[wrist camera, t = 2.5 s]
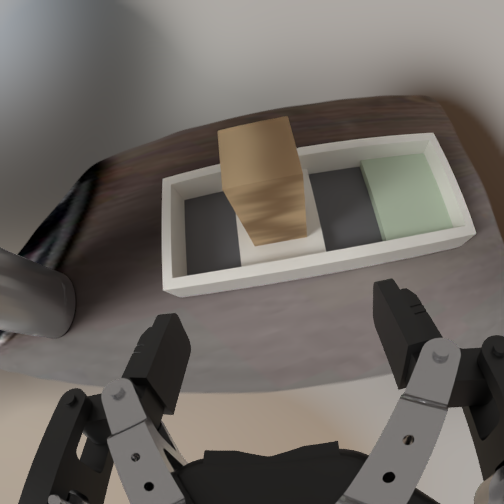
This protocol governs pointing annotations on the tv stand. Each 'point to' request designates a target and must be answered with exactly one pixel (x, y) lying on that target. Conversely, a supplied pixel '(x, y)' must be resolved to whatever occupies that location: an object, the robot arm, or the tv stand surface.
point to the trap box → (318, 217)
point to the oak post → (264, 180)
